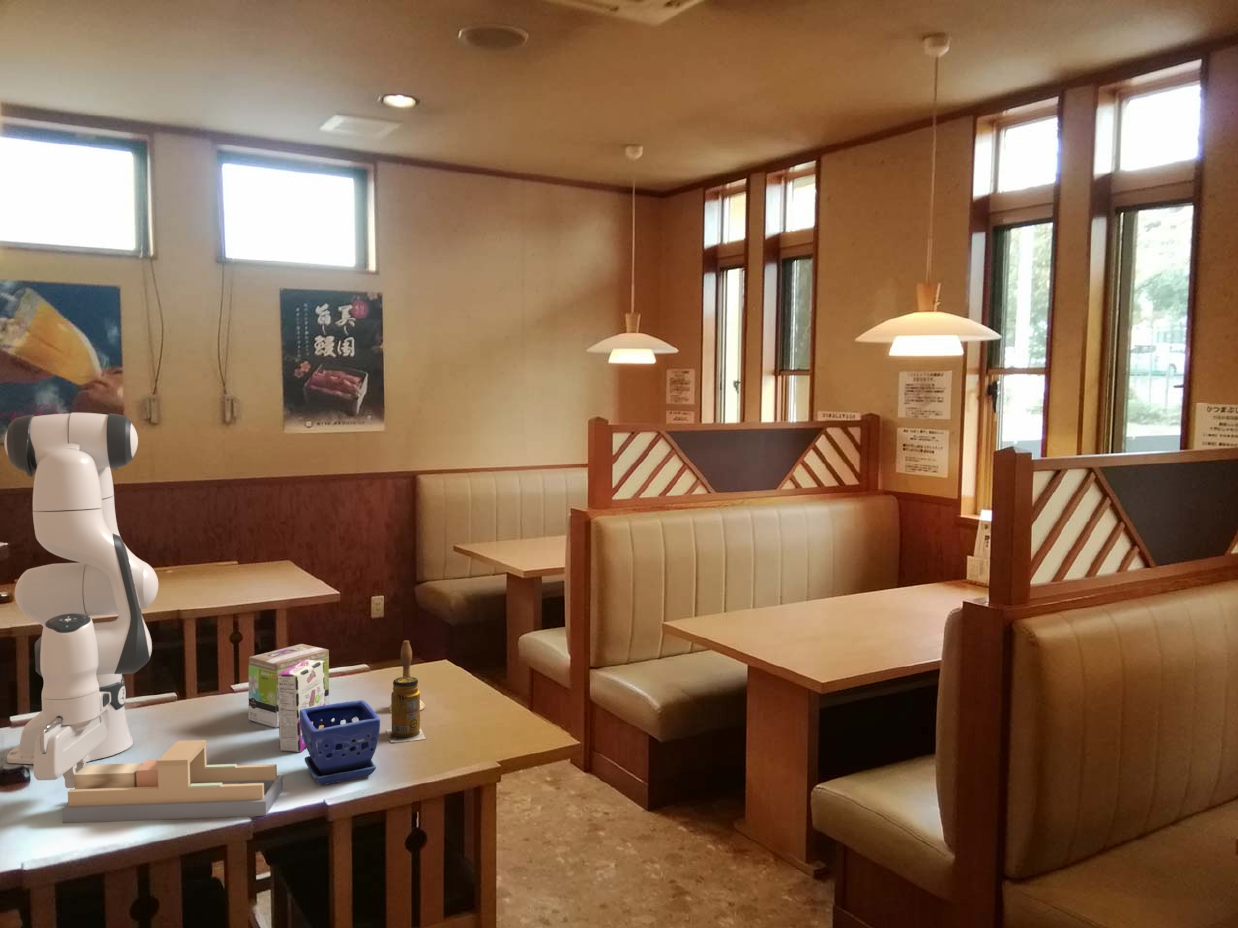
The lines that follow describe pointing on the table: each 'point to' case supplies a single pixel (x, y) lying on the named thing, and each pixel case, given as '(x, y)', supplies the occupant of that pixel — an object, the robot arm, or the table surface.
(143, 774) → the terracotta cube
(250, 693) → the tea box
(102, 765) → the maple bar
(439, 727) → the table surface
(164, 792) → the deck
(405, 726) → the condiment
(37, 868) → the table surface
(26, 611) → the robot arm
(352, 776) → the flower pot
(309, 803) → the table surface
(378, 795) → the table surface
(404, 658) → the hand bell
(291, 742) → the candy bar box
